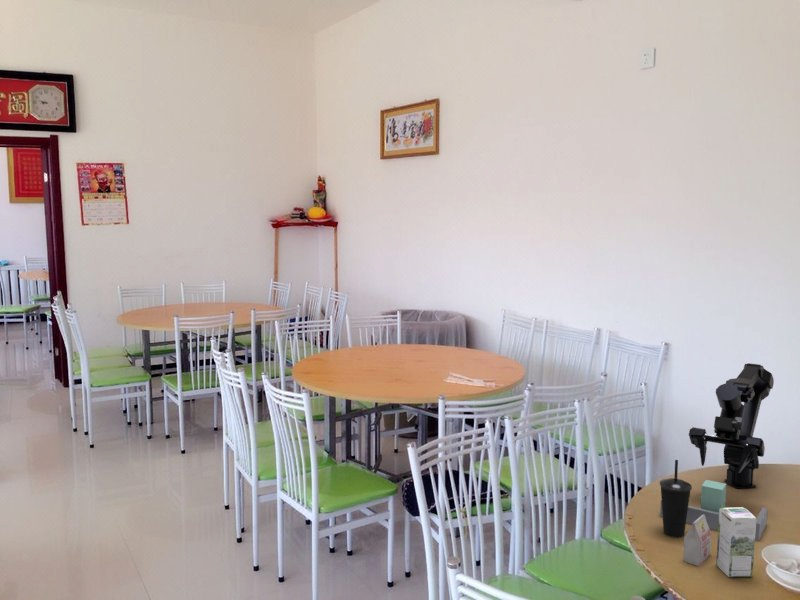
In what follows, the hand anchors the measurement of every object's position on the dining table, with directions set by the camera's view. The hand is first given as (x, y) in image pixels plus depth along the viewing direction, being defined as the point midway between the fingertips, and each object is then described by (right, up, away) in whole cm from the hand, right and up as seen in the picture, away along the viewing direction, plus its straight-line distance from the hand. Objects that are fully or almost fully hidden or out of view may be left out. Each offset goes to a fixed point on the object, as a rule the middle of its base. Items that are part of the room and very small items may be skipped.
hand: (720, 468), depth 184 cm
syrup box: (-11, -17, -29) cm, 35 cm away
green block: (-4, -13, -4) cm, 14 cm away
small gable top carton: (-17, -16, -23) cm, 32 cm away
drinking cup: (-17, -15, -11) cm, 25 cm away
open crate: (-4, -14, -4) cm, 15 cm away
